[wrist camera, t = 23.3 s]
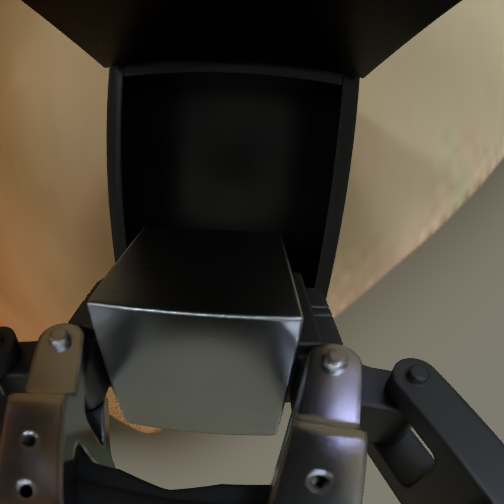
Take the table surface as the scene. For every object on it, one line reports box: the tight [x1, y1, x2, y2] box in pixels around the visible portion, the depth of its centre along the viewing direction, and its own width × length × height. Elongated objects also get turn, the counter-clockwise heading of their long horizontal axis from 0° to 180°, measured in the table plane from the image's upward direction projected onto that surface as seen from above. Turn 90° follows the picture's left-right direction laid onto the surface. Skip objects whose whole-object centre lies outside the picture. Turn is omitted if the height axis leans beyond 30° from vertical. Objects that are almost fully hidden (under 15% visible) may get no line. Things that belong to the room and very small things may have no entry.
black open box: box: [107, 60, 360, 299], centre depth 20 cm, size 16×13×9 cm
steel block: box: [87, 227, 304, 435], centre depth 8 cm, size 4×4×4 cm
